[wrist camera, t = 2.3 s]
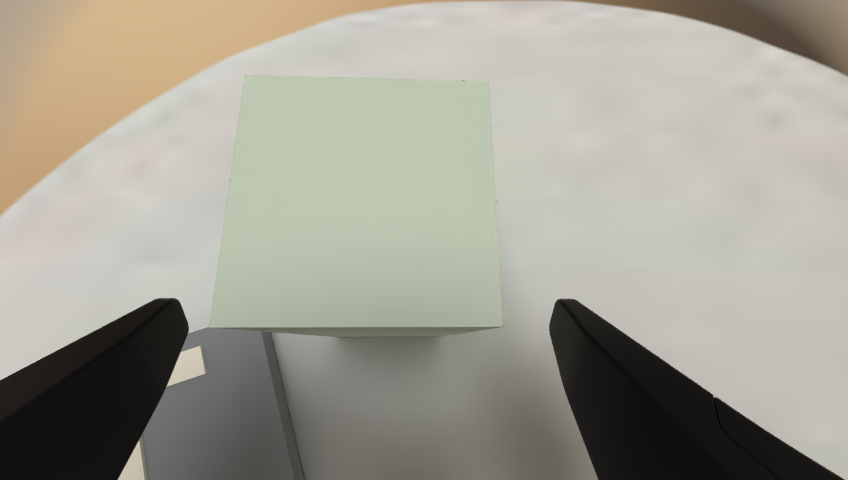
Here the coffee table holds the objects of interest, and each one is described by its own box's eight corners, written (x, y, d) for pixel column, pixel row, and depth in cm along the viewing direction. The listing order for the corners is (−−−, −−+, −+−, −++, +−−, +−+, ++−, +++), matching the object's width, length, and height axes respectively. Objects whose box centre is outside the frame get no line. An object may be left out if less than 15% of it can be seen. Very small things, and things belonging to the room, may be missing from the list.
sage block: (440, 336, 18) (503, 326, 7) (335, 336, 18) (209, 327, 6) (439, 236, 19) (489, 81, 8) (341, 235, 19) (245, 74, 8)
